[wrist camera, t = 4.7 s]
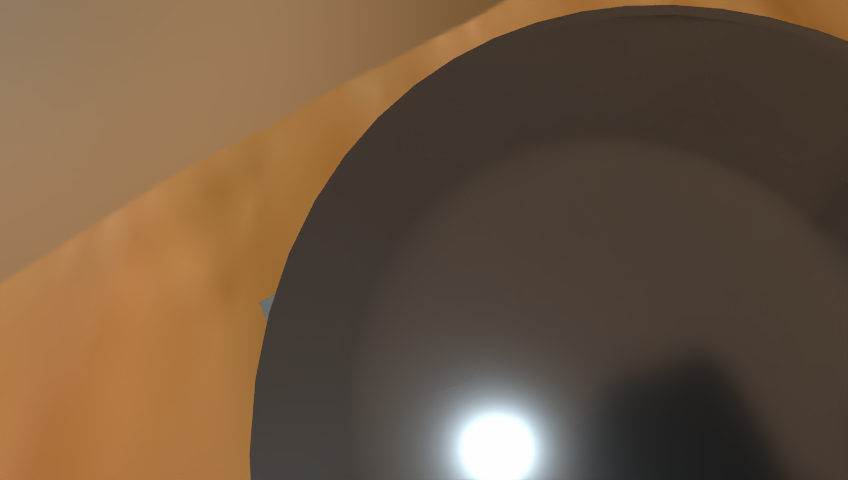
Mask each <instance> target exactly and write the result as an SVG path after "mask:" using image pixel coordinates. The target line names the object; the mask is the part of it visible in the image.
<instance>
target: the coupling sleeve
mask: <svg viewBox="0 0 848 480" xmlns="http://www.w3.org/2000/svg"><path fill="white" fill-rule="evenodd" d="M250 470H251V480H848V41H845V40H843V39H840V38H837V37H834V36H832V35H829V34H826V33H823V32H821V31H818V30H814V29H810V28H807V27H803V26H799V25H796V24H792V23H788V22H785V21H781V20H777V19H774V18H770V17H764V16H759V15H753V14H747V13H742V12H736V11H730V10H725V9H716V8H704V7H691V6H679V5H653V6H623V7H615V8H607V9H599V10H591V11H583V12H578V13H574V14H570V15H566V16H562V17H557V18H553V19H549V20H545V21H541V22H537V23H534V24H531V25H529V26H526V27H523V28H520V29H518V30H515V31H512V32H510V33H507V34H504V35H501V36H499V37H496V38H494V39H492V40H490V41H488V42H486V43H484V44H482V45H480V46H478V47H476V48H474V49H472V50H470V51H468V52H466V53H464V54H462V55H460V56H458V57H456V58H454V59H453V60H451V61H450V62H448V63H447V64H445V65H444V66H442V67H441V68H439V69H438V70H436V71H435V72H434V73H432V74H431V75H429V76H428V77H426V78H425V79H423V80H422V81H420V82H419V83H417V84H416V85H414V86H413V87H412V88H411V89H410V90H409V91H408V92H407V93H405V94H404V95H403V96H402V97H401V98H400V99H399V100H397V101H396V102H395V103H394V104H393V105H392V106H391V107H390V108H388V109H387V110H386V111H385V112H384V113H383V114H382V115H381V116H379V117H378V118H377V120H376V121H375V122H374V123H373V124H372V125H371V126H370V128H369V129H368V130H367V131H366V132H365V133H364V134H363V136H362V137H361V138H360V139H359V140H358V141H357V143H356V144H355V145H354V146H353V147H352V148H351V149H350V151H349V152H348V153H347V154H346V155H345V156H344V158H343V159H342V161H341V162H340V164H339V165H338V167H337V168H336V170H335V171H334V173H333V174H332V176H331V177H330V179H329V180H328V182H327V184H326V185H325V187H324V188H323V190H322V191H321V193H320V194H319V196H318V197H317V199H316V200H315V202H314V204H313V206H312V208H311V210H310V212H309V214H308V216H307V218H306V220H305V222H304V224H303V226H302V228H301V230H300V232H299V234H298V236H297V239H296V241H295V243H294V245H293V247H292V249H291V251H290V253H289V256H288V259H287V261H286V264H285V267H284V270H283V273H282V276H281V279H280V282H279V285H278V288H277V291H276V294H275V297H274V300H273V303H272V306H271V309H270V312H269V316H268V321H267V326H266V331H265V336H264V340H263V345H262V350H261V355H260V360H259V365H258V370H257V375H256V380H255V393H254V406H253V419H252V432H251V445H250Z"/></svg>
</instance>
